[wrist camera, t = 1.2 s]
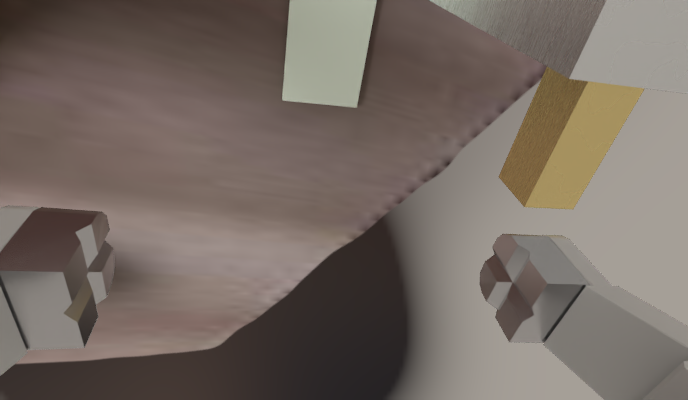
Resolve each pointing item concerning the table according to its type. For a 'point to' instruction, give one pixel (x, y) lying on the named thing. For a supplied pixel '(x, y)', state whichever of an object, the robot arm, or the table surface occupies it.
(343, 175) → the table surface
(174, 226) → the table surface
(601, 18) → the rack post
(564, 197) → the brass bar
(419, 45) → the table surface
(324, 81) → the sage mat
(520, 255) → the robot arm
